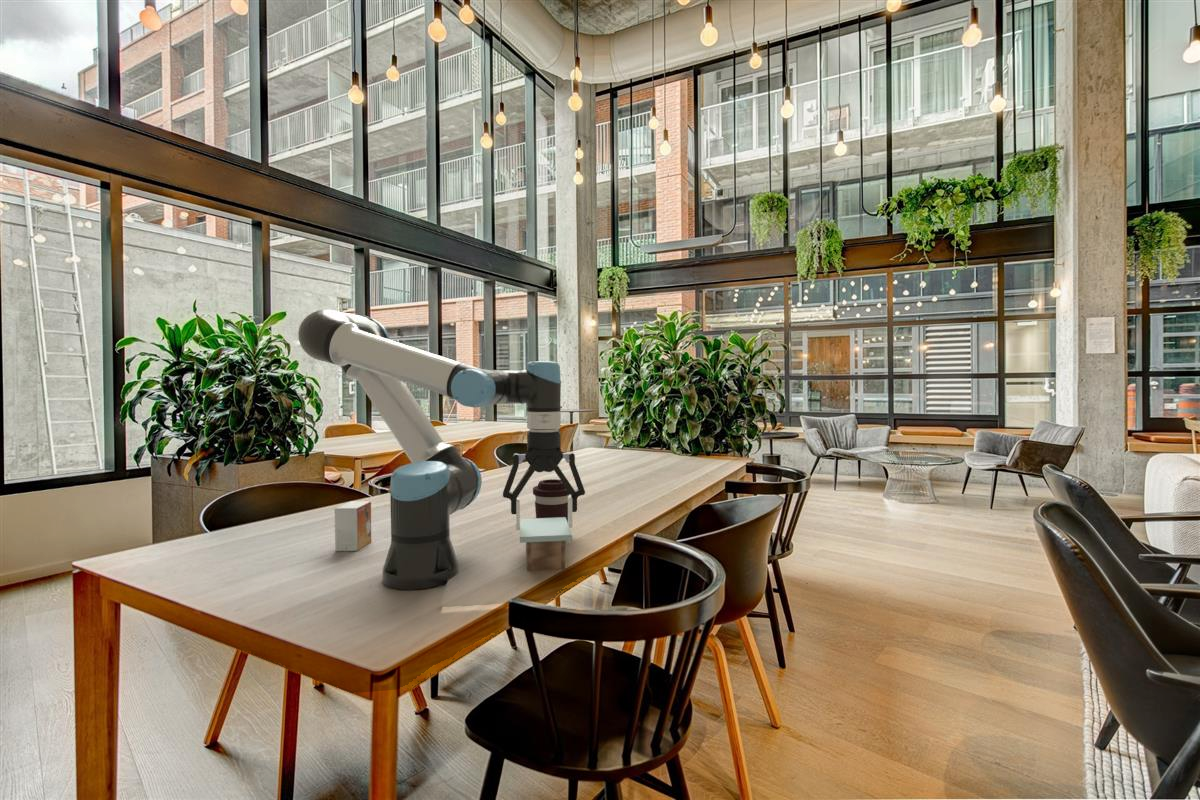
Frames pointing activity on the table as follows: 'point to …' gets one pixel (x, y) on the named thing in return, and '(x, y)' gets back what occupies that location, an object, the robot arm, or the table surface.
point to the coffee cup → (551, 499)
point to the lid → (544, 530)
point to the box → (545, 555)
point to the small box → (352, 526)
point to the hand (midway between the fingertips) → (544, 527)
